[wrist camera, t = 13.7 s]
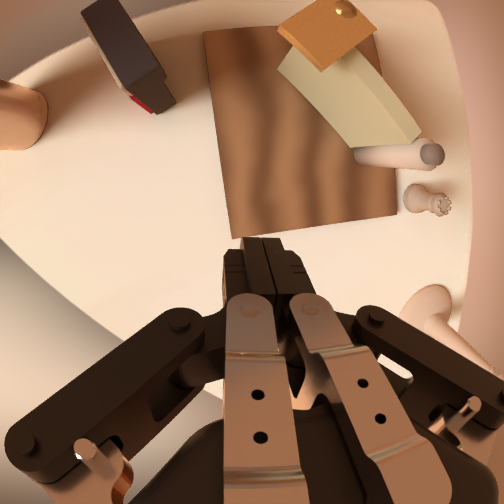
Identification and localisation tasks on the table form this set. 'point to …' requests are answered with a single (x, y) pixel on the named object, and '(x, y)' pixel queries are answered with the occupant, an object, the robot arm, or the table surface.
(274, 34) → the board
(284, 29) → the plate
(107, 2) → the dark brown flat block
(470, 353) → the candlestick
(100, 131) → the table surface
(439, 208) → the rook chess piece
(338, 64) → the hinge
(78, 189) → the table surface
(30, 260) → the table surface
